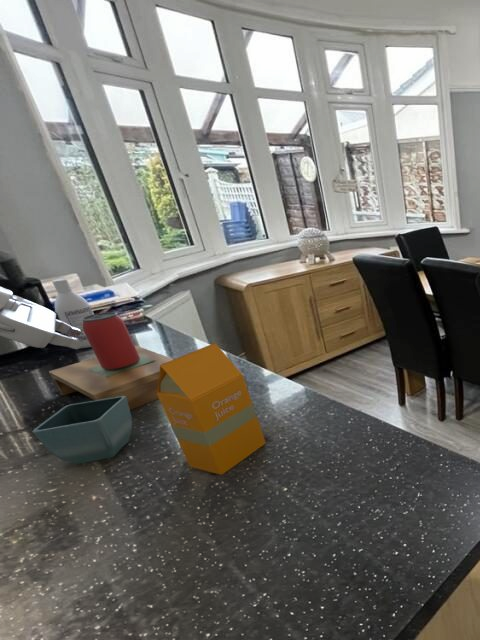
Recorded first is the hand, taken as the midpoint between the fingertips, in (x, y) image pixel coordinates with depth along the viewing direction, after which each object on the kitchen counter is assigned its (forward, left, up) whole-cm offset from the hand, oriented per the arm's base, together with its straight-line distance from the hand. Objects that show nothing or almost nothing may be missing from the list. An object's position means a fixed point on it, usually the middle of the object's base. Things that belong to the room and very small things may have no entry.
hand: (80, 339), depth 85 cm
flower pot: (-10, -28, -14) cm, 33 cm away
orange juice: (0, -49, -14) cm, 51 cm away
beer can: (+4, -2, -8) cm, 9 cm away
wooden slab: (+3, -2, -14) cm, 14 cm away
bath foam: (+11, +44, -14) cm, 48 cm away
